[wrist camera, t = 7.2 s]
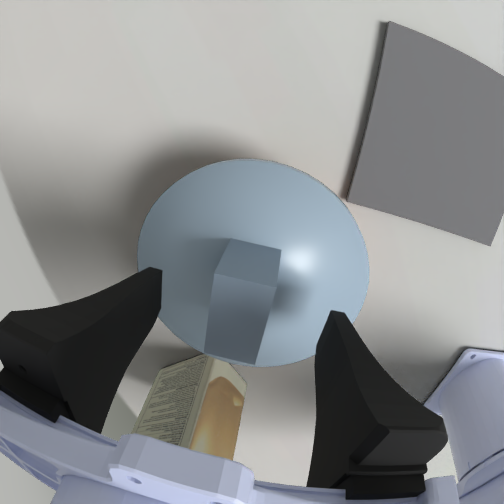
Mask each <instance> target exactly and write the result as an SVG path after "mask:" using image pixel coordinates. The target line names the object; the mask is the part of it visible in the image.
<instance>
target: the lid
mask: <svg viewBox="0 0 504 504" xmlns="http://www.w3.org/2000/svg"><path fill="white" fill-rule="evenodd" d="M137 263H138V272H140V271H142V270H144V269H146V268H148V267H153V268H156V269H160V270H163V272H162V300H161V310H160V312H159V314H158V317H159V318H160V319H161V321H162V322H163V323H164V324H165V325H166V326H167V327H168V328H169V329H170V330H171V331H172V332H173V333H174V334H175V335H176V336H177V337H179V338H180V339H181V340H182V341H184V342H185V343H186V344H188V345H190V346H191V347H193V348H194V349H196V350H198V351H200V352H202V353H204V354H206V355H208V356H210V357H213V358H215V359H218V360H221V361H225V362H228V363H232V364H237V365H243V366H253V367H271V366H280V365H286V364H290V363H295V362H298V361H301V360H304V359H307V358H309V357H311V356H313V355H315V353H316V344H317V342H318V340H319V337H320V335H321V333H322V330H323V328H324V325H325V323H326V321H327V318H328V316H329V313H330V311H331V310H335V311H340V312H345V314H346V315H347V317H348V319H349V320H350V322H351V323H353V322H354V321H355V319H356V317H357V316H358V314H359V312H360V310H361V308H362V306H363V303H364V300H365V297H366V294H367V289H368V283H369V261H368V253H367V249H366V246H365V242H364V239H363V237H362V234H361V232H360V230H359V228H358V225H357V223H356V221H355V219H354V218H353V216H352V214H351V213H350V211H349V210H348V208H347V207H346V206H345V204H344V203H343V202H342V201H341V200H340V199H339V198H338V197H337V195H336V194H335V193H333V192H332V191H331V190H330V189H329V188H328V187H326V186H325V185H324V184H323V183H321V182H320V181H318V180H317V179H315V178H314V177H312V176H310V175H309V174H307V173H305V172H303V171H300V170H298V169H296V168H294V167H291V166H288V165H285V164H281V163H278V162H274V161H268V160H261V159H233V160H226V161H220V162H217V163H213V164H210V165H206V166H204V167H202V168H199V169H197V170H195V171H193V172H191V173H189V174H188V175H186V176H185V177H183V178H181V179H180V180H178V181H177V182H176V183H174V184H173V185H172V186H171V187H170V188H168V189H167V190H166V191H165V192H164V193H163V194H162V195H161V196H160V197H159V199H158V200H157V201H156V202H155V203H154V205H153V206H152V208H151V210H150V211H149V213H148V215H147V216H146V219H145V221H144V224H143V226H142V229H141V232H140V236H139V241H138V250H137Z"/></svg>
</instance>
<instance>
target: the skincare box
mask: <svg viewBox="0 0 504 504" xmlns="http://www.w3.org/2000/svg"><path fill="white" fill-rule="evenodd" d="M246 388H247V384H246V382H245V381H244V380H243V379H242V378H241V376H240V375H239V374H238V373H237V372H236V371H235V369H234V368H233V367H232V366H231V365H230V364H229V363H228V362H225V361H221V360H218V359H215V358H213V357H210V356H208V355H206V354H202V355H199V356H196V357H194V358H191V359H188V360H185V361H182V362H180V363H177V364H174V365H171V366H169V367H166V368H163V369H161V370H160V371H159V372H158V375H157V377H156V379H155V381H154V383H153V385H152V388H151V390H150V392H149V394H148V397H147V399H146V401H145V403H144V405H143V408H142V410H141V412H140V414H139V416H138V419H137V421H136V423H135V426H134V428H133V430H132V432H131V434H133V433H136V434H140V435H145V436H149V437H152V438H155V439H158V440H161V441H164V442H167V443H171V444H174V445H177V446H180V447H184V448H187V449H191V450H195V451H198V452H202V453H206V454H210V455H214V456H218V457H223V458H227V459H230V460H233V456H234V451H235V446H236V441H237V436H238V430H239V425H240V420H241V414H242V409H243V403H244V398H245V393H246Z"/></svg>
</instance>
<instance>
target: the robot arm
mask: <svg viewBox="0 0 504 504" xmlns="http://www.w3.org/2000/svg"><path fill="white" fill-rule="evenodd" d="M162 272H163V270H160V269H156V268H153V267H148V268H146V269H144V270H142V271H140V272H138V273H136V274H134V275H132V276H131V277H129V278H127V279H125V280H123V281H121V282H119V283H117V284H115V285H113V286H111V287H109V288H107V289H104V290H102V291H100V292H98V293H96V294H93V295H91V296H88V297H85V298H82V299H79V300H76V301H73V302H69V303H65V304H62V305H58V306H53V307H48V308H43V309H35V310H23V311H11V312H10V313H9V314H8V315H7V316H6V317H5V318H4V319H3V320H2V321H1V322H0V360H1V362H2V364H3V366H4V368H3V369H2V371H1V372H0V452H2V453H3V454H4V455H5V456H6V457H8V458H9V459H10V460H12V461H13V462H14V463H16V464H17V465H18V466H20V467H21V468H23V469H24V470H25V471H27V472H28V473H30V474H31V475H32V476H34V477H35V478H37V479H38V480H40V481H41V482H43V483H45V484H46V485H48V486H49V487H51V488H52V489H54V490H56V493H55V495H54V497H53V499H52V501H51V503H50V504H504V352H495V351H487V350H479V349H471V348H470V349H466V350H465V351H464V352H463V353H462V355H461V356H460V358H459V359H458V361H457V362H456V363H455V365H454V366H453V368H452V369H451V370H450V372H449V373H448V374H447V376H446V377H445V378H444V380H443V381H442V382H441V384H440V385H439V386H438V387H437V389H436V390H435V391H434V393H433V394H432V395H431V396H430V397H429V399H428V400H427V401H426V402H425V404H424V405H422V404H421V403H420V402H418V401H417V400H416V399H414V398H413V397H412V396H411V395H409V394H408V393H407V392H406V391H405V390H404V389H403V388H402V387H400V386H399V385H398V384H397V383H396V382H395V381H394V380H393V379H392V378H391V377H390V376H389V374H388V373H387V372H386V371H385V370H384V369H383V368H382V367H381V365H380V364H379V363H378V362H377V360H376V359H375V358H374V356H373V355H372V354H371V352H370V351H369V350H368V348H367V347H366V345H365V344H364V342H363V341H362V339H361V338H360V336H359V335H358V333H357V331H356V330H355V328H354V327H353V325H352V323H351V322H350V320H349V319H348V317H347V315H346V314H345V312H340V311H335V310H331V311H330V313H329V316H328V318H327V321H326V323H325V325H324V328H323V330H322V333H321V335H320V337H319V340H318V342H317V344H316V353H315V386H316V426H315V436H314V444H313V452H312V459H311V465H310V471H309V476H308V481H307V486H306V487H302V486H292V485H284V484H276V483H269V482H263V481H257V480H254V479H255V478H254V473H253V471H252V470H250V469H249V468H247V467H246V466H244V465H243V464H241V463H239V462H236V461H233V460H230V459H227V458H223V457H218V456H214V455H210V454H206V453H202V452H198V451H195V450H191V449H187V448H184V447H180V446H177V445H174V444H171V443H167V442H164V441H161V440H158V439H155V438H152V437H149V436H145V435H140V434H136V433H133V434H126V435H122V436H121V438H120V440H119V442H118V441H116V440H113V439H111V438H108V437H106V436H104V435H101V432H102V429H103V426H104V423H105V420H106V417H107V414H108V412H109V409H110V406H111V404H112V401H113V398H114V396H115V394H116V391H117V389H118V387H119V384H120V382H121V380H122V378H123V376H124V373H125V371H126V369H127V367H128V366H129V364H130V362H131V360H132V359H133V357H134V356H135V354H136V352H137V351H138V349H139V348H140V346H141V345H142V343H143V341H144V340H145V338H146V337H147V335H148V334H149V332H150V330H151V329H152V327H153V325H154V323H155V321H156V319H157V317H158V314H159V312H160V310H161V300H162ZM439 415H442V417H443V418H442V417H441V416H439ZM448 439H449V443H450V447H451V451H452V455H453V459H454V464H455V468H456V473H457V477H458V482H459V483H457V484H456V481H455V476H453V475H451V476H443V477H435V478H430V479H427V480H425V481H424V475H423V474H425V473H426V472H427V465H426V463H427V462H428V461H430V460H431V459H432V458H433V457H434V456H435V455H437V454H438V453H439V452H440V451H441V450H442V449H443V448H444V447H445V445H446V443H447V441H448Z"/></svg>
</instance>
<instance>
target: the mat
mask: <svg viewBox="0 0 504 504" xmlns="http://www.w3.org/2000/svg"><path fill="white" fill-rule="evenodd" d="M346 200H347V202H350V203H353V204H357V205H361V206H364V207H368V208H372V209H375V210H379V211H382V212H386V213H389V214H393V215H396V216H399V217H403V218H406V219H409V220H413V221H416V222H419V223H422V224H426V225H429V226H432V227H435V228H438V229H441V230H444V231H447V232H450V233H453V234H456V235H459V236H462V237H465V238H468V239H471V240H474V241H477V242H479V243H482V244H485V245H488V246H491V244H492V241H493V239H494V236H495V234H496V231H497V229H498V226H499V224H500V221H501V219H502V216H503V213H504V76H502V75H501V74H499V73H498V72H496V71H494V70H493V69H491V68H489V67H488V66H486V65H484V64H482V63H481V62H479V61H477V60H475V59H473V58H472V57H470V56H468V55H466V54H464V53H462V52H460V51H458V50H456V49H454V48H452V47H450V46H448V45H446V44H444V43H442V42H440V41H438V40H435V39H433V38H431V37H429V36H426V35H424V34H422V33H419V32H417V31H414V30H412V29H409V28H407V27H404V26H402V25H399V24H396V23H394V22H391V21H389V22H388V23H387V27H386V33H385V39H384V44H383V50H382V55H381V60H380V65H379V70H378V75H377V79H376V84H375V89H374V93H373V98H372V102H371V106H370V111H369V115H368V119H367V123H366V127H365V132H364V136H363V139H362V143H361V147H360V151H359V155H358V159H357V163H356V166H355V170H354V174H353V177H352V181H351V184H350V188H349V191H348V195H347V198H346Z"/></svg>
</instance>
